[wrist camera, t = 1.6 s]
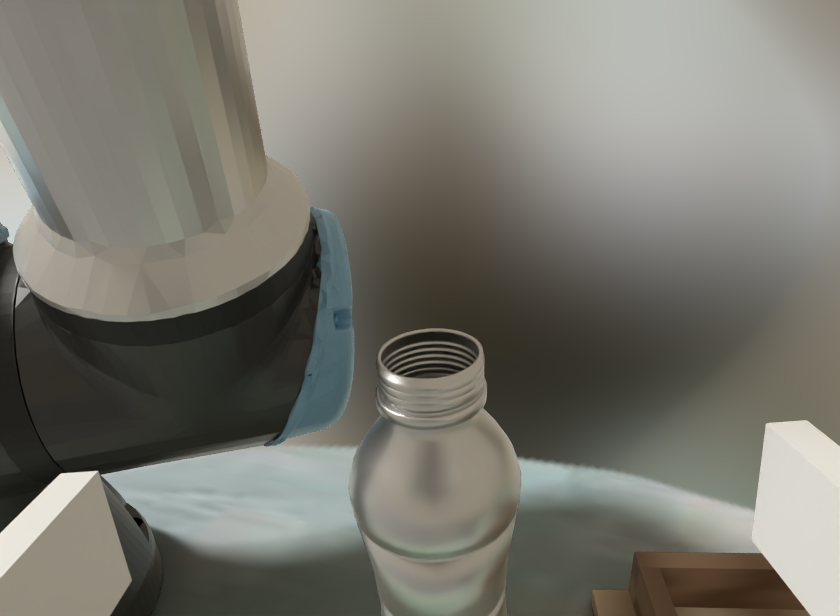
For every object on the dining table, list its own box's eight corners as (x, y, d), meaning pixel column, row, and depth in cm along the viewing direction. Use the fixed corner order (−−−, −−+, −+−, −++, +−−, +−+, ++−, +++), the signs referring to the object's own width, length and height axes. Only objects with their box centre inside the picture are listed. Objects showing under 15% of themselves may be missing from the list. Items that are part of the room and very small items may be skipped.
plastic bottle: (547, 727, 27) (572, 361, 18) (425, 823, 24) (387, 437, 15) (467, 621, 32) (458, 296, 23) (358, 689, 29) (302, 344, 20)
